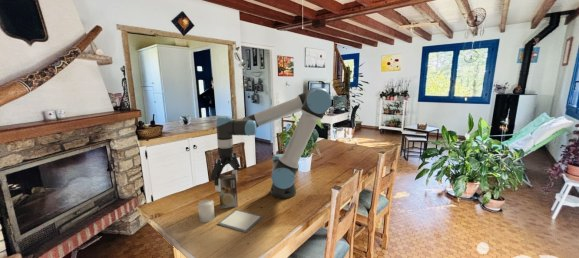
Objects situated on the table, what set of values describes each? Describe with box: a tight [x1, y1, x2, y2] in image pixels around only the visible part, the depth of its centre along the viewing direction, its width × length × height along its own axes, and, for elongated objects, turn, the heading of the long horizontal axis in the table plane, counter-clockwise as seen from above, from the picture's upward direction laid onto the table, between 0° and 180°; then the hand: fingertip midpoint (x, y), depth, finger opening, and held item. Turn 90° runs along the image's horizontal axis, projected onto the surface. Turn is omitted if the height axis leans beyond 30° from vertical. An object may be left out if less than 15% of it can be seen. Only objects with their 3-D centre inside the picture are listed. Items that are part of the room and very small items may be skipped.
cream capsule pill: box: [197, 199, 216, 224], centre depth 117 cm, size 7×7×8 cm
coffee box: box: [218, 173, 239, 209], centre depth 130 cm, size 9×6×16 cm
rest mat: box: [217, 208, 264, 234], centre depth 116 cm, size 14×16×1 cm
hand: (226, 185), depth 129 cm, fingers open, 13 cm apart
